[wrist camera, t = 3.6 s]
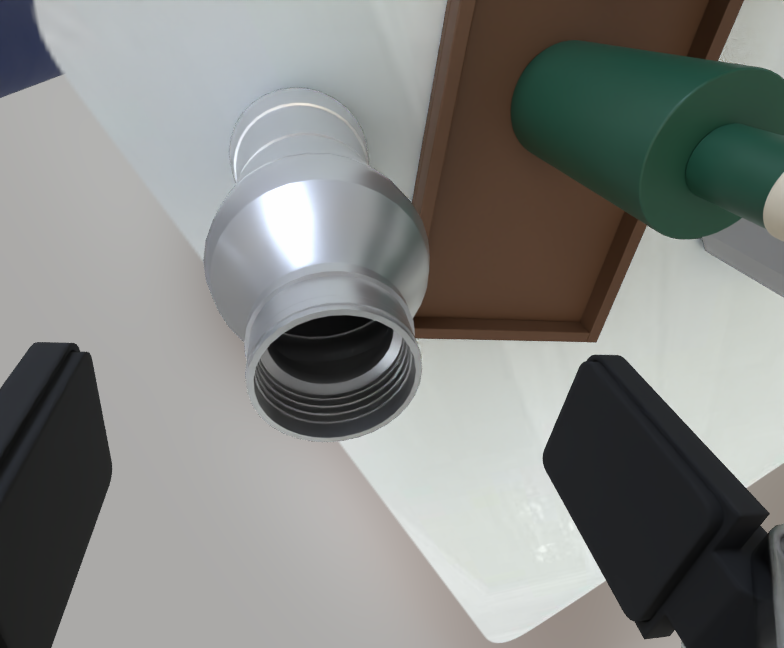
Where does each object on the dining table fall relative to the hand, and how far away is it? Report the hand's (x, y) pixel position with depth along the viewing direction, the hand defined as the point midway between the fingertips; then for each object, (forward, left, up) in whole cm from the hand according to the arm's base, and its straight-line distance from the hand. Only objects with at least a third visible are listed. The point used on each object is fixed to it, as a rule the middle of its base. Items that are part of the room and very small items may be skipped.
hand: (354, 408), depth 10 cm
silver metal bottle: (0, 0, -21) cm, 21 cm away
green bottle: (+14, +4, -20) cm, 25 cm away
